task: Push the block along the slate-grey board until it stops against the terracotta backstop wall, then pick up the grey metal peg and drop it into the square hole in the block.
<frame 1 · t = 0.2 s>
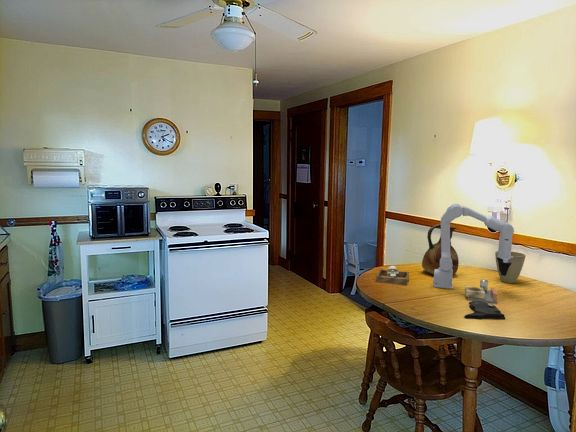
hand: (502, 273, 202), 10 cm above the table, tool pointing down, fingers open, 7 cm apart
plant pot: (507, 281, 224), on the table
ceramic pitcher: (439, 274, 238), on the table
stone slab: (480, 313, 176), on the table
coaster frame: (392, 279, 224), on the table
skull: (392, 280, 224), on the table
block: (474, 292, 194), point 3 cm above the table, slide at 0.0 cm
peg: (483, 291, 201), point 1 cm above the table, touching board
board: (480, 296, 197), on the table
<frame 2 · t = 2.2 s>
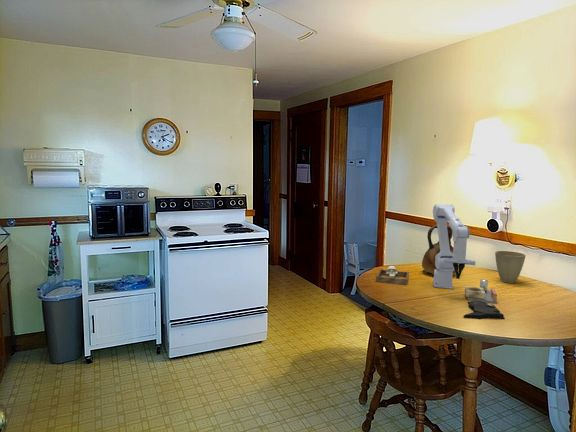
hand: (457, 278, 196), 9 cm above the table, tool pointing down, fingers closed
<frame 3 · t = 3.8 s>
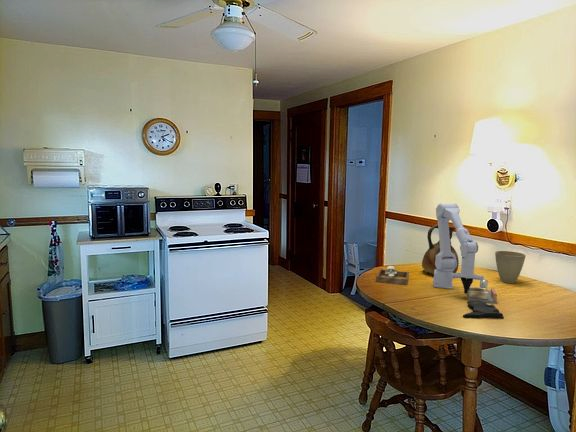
hand: (465, 293, 195), 2 cm above the table, tool pointing down, fingers closed
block: (477, 292, 194), point 3 cm above the table, slide at 1.4 cm, touching gripper
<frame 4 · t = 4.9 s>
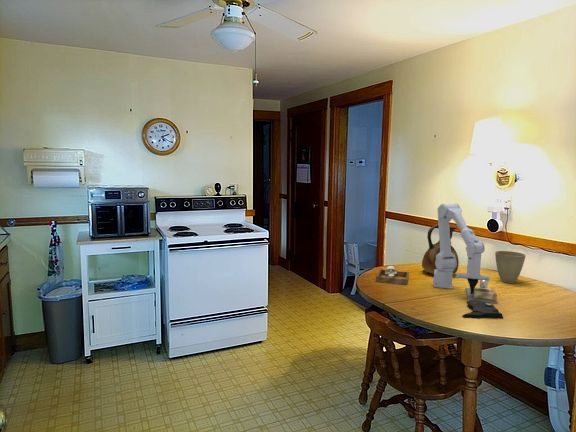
hand: (471, 293, 195), 2 cm above the table, tool pointing down, fingers closed
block: (482, 293, 193), point 3 cm above the table, slide at 3.6 cm, touching gripper
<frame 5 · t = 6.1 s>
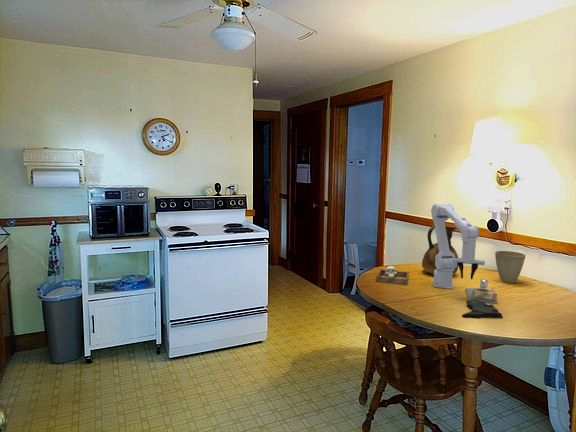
hand: (466, 278, 194), 9 cm above the table, tool pointing down, fingers open, 4 cm apart
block: (482, 293, 193), point 3 cm above the table, slide at 3.5 cm
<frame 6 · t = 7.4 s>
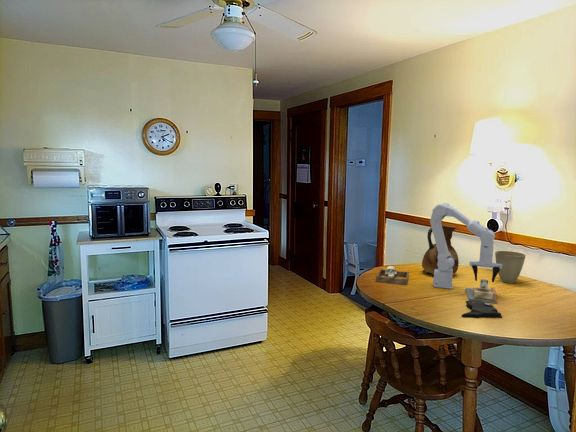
hand: (484, 281, 200), 7 cm above the table, tool pointing down, fingers open, 7 cm apart
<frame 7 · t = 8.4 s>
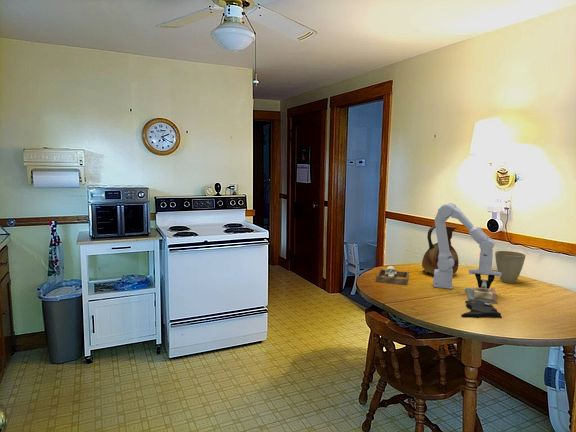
hand: (483, 289, 201), 2 cm above the table, tool pointing down, fingers closed on peg, 3 cm apart
peg: (483, 291, 201), point 1 cm above the table, touching board, gripper
when the fingers open (5 cm above the table, at t = 11.2 s): peg drops 2 cm, resting on board.
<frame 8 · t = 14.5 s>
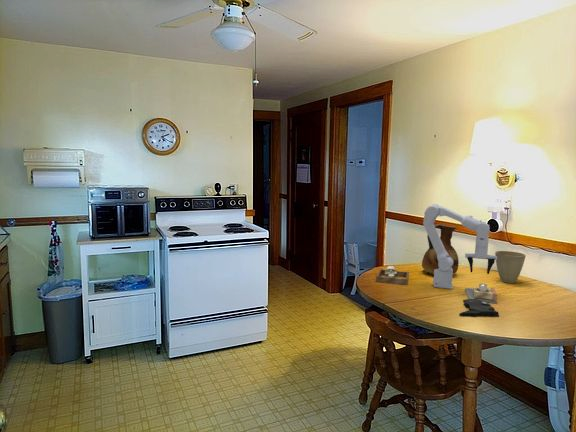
hand: (479, 272, 203), 10 cm above the table, tool pointing down, fingers open, 7 cm apart
stone slab: (475, 310, 179), on the table
peg: (482, 296, 193), point 1 cm above the table, touching board
at the end: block slide at 3.5 cm; peg 0.1 cm off-centre on the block, point 1.0 cm above the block's base; peg tilted 1° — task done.
